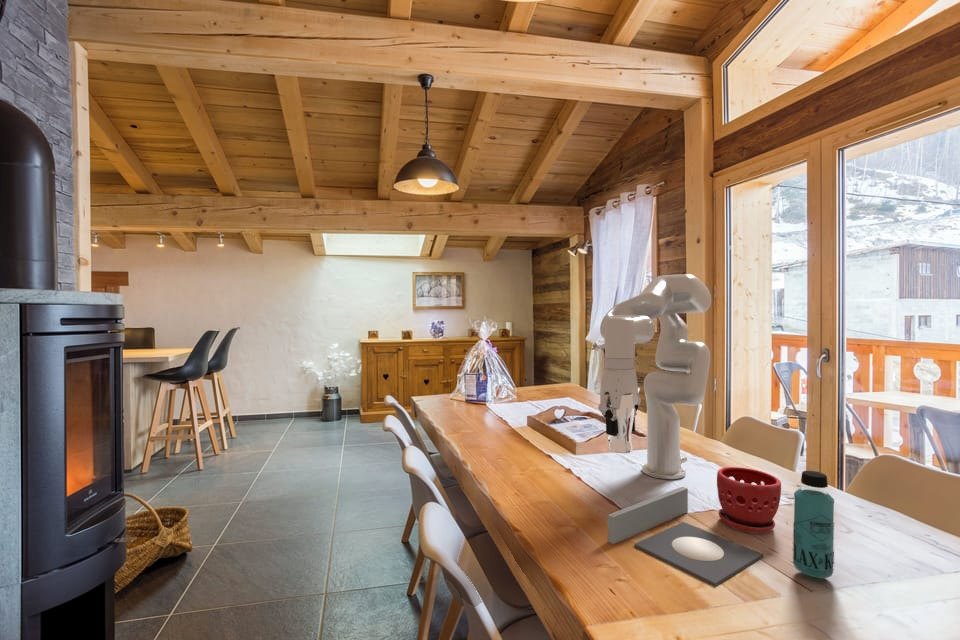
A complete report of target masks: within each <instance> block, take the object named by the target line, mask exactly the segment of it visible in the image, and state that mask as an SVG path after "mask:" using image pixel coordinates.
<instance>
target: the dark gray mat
mask: <svg viewBox="0 0 960 640" xmlns="http://www.w3.org/2000/svg"><path fill="white" fill-rule="evenodd" d="M634 547H635V548H637V549H639V550H641V551H643V552H645V553H647V554H649V555H651V556H653V557H655V558H657V559H659V560H661V561H662V562H665V563H667V564H670V565H671V566H674V567H675V568H677V569H679V570H682V571H684V572H686V573H688V574H689V575H691V576H693V577H696V578H697V579H700V580H701V581H703V582H705V583H708V584H709V585H712V586H713V587H717V586H718V585H720V584H721V583H724V582H725V581H727V580H728V579H730V578H731V577H733V576H735V575H736V574H738V573H740V572H741V571H742V570H744V569H746V568H748V567H749V566H750V565H752V564H754V563H755V562H758V561H759V560H761V559H762V558H764V553H763V552H760V551H757V550H755V549H753V548H750V547H747V546H745V545H742V544H740V543H737V542H735V541H733V540H730V539H729V538H728V539H727V538H725V537H722V536H720V535H717V534H715V533H712V532H710V531H708V530H705V529H702V528H699V527H698V526H695V525H692V524H690V523H687V522H685V521H682V522H679V523H678V524H675V525H673V526H671V527H668V528H667V529H664V530H662V531H660V532H658V533H655V534H653V535H650V536H649V537H646V538H644V539H642V540H640V541H637V542H635V543H634Z"/></svg>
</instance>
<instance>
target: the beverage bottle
mask: <svg viewBox="0 0 960 640" xmlns="http://www.w3.org/2000/svg"><path fill="white" fill-rule="evenodd" d="M800 482H801V484H802V485H805V486H803V487H800V488H798V489H797V490H795V491H794V493H793V494H794V502H793V503H794V509H793V514H794V515H793V524H792V527H793V532H792V539H793V540H792V544H793V546H792V556H791V557H792V562H793V565H794V568H795V569H796V570H797V571H798V572H801V573H802V574H805V575H807V576H810V577H814V578H817V579H827V578H830V577H832V576H833V573H834V570H835V569H834V568H835V561H834V557H835V551H834V540H835V537H834V536H835V535H834V533H835V531H834V530H835V523H834V520H835V519H834V515H835V513H834V512H835V511H834V508H835V506H834V505H835V499H834V497H833V496H832V495H831V494H829V493H828V492H827V491H825V490H824V489H825V488H828V485H829V484H828V477H827V474H825V473H823V472H821V471H815V470H803V471H802V472H801V479H800Z"/></svg>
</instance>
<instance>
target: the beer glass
mask: <svg viewBox="0 0 960 640" xmlns="http://www.w3.org/2000/svg"><path fill="white" fill-rule="evenodd" d="M609 407H611V408H612V404H611V403H609ZM612 411H613V410H609V412H610V413H611V414H612ZM615 420H616V421H617V436H612V435H609V436H610V438H609V444H608V449H609V450H608V451H611V452H613V453H616V454H617V453H618V454H630V453H632V452H633V451H634V447H633V442H632V433H633V432H632V427H633V421H634V396H633V393H632V394H630V395H622V398H621V403H620V408H619V409H618V410H616V419H615Z"/></svg>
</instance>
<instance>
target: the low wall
mask: <svg viewBox="0 0 960 640" xmlns="http://www.w3.org/2000/svg"><path fill="white" fill-rule="evenodd" d="M688 491H689V490H688V488H687V487H684V486H680V487H678V488H675V489H672V490H670V491H667V492H664V493H662V494H659V495H657V496H654V497H651V498H648V499H646V500H644V501H640V502H638V503H635V504H633V505H630V506H628V507H625V508H622V509H620V510H617V511H614V512H612V513H609V514H607V542H608V543H609V544H612V545H615V544H618V543H619V542H622V541H624V540H627V539H629V538H631V537H633V536H636V535H639V534H640V533H643V532H645V531H648V530H649V529H651V528H654V527H656V526H659V525H661V524H664V523H666V522H668V521H671V520H673V519H675V518H677V517H680V516H682V515H685V514H686V513H689V509H688V508H689V506H688V505H689V501H688V500H689V497H688V496H689V493H688Z"/></svg>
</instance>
